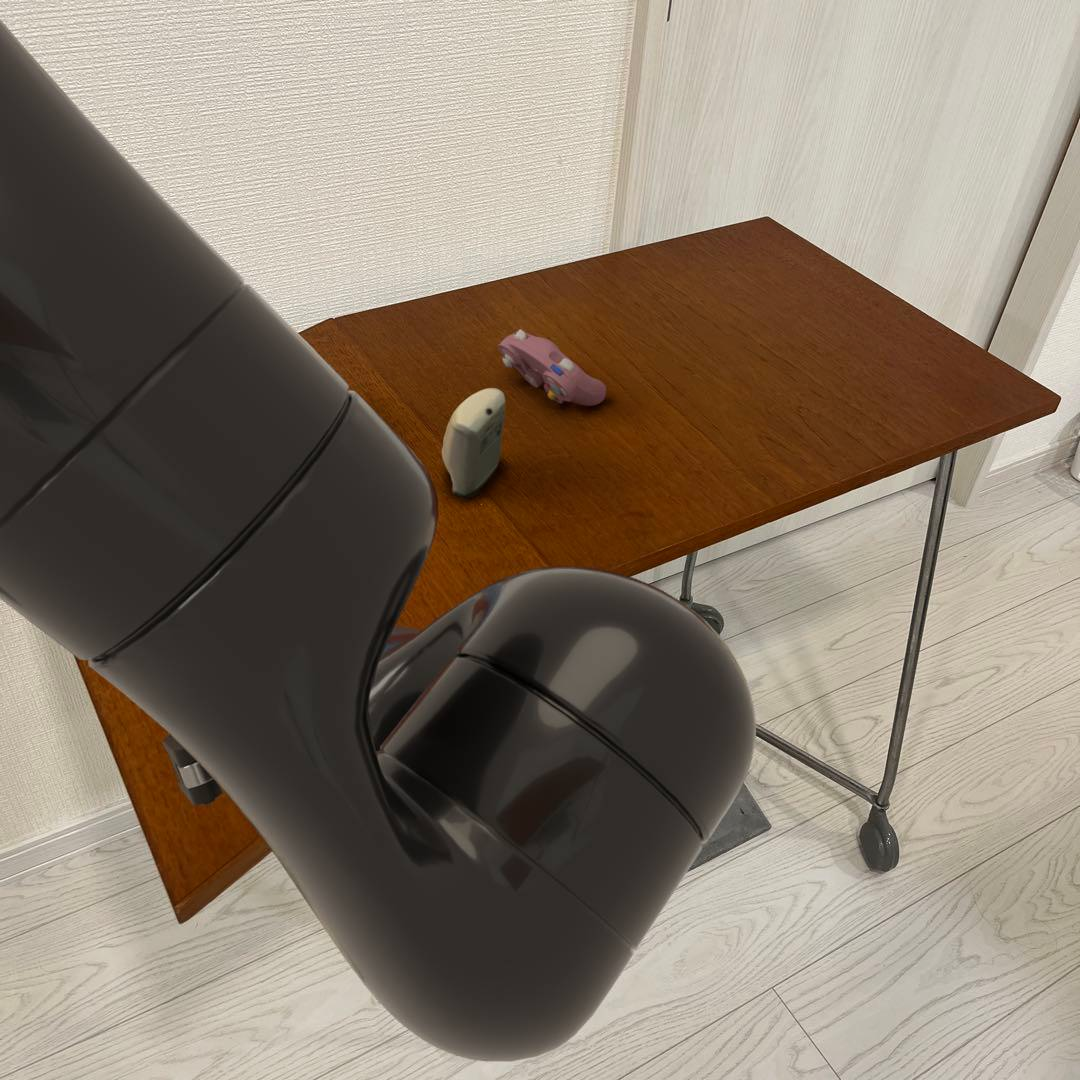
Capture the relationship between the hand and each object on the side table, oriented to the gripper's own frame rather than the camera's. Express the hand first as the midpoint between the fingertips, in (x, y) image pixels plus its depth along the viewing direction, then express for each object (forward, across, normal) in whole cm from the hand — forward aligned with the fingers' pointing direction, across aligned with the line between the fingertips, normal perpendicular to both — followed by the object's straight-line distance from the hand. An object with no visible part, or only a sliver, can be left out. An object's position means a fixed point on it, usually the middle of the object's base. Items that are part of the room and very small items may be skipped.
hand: (304, 695), depth 53 cm
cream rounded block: (+26, -22, -8) cm, 35 cm away
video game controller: (+31, -34, -14) cm, 48 cm away
